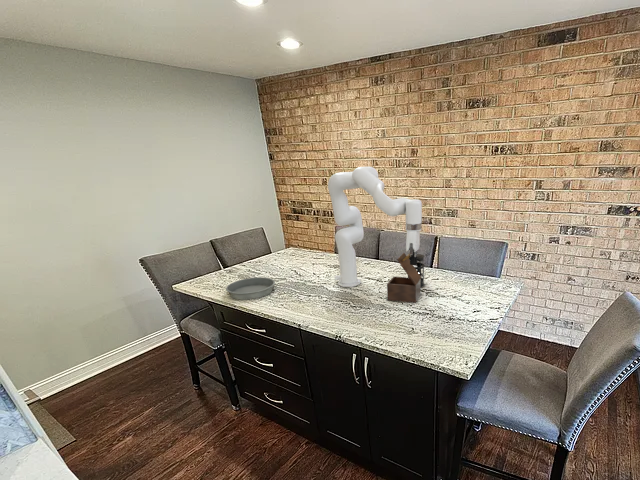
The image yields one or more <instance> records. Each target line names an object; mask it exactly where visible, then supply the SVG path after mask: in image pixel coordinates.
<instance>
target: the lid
mask: <svg viewBox="0 0 640 480" xmlns="http://www.w3.org/2000/svg"><path fill="white" fill-rule="evenodd" d="M409 258H410V252H409V253H408V254H406V253H405V252H403V253H402V254H400V255H399V256H398V258H397V259H396V260H397V262H398V263H399V265H400V266H401V267H402V269H403V271H404V272H405V274H406V275H407V277H408V276H409V278H410V279H411V280H412V282H413V283H414V285H417V283H418V282H419V280H420V278H422V277H421V276H420V275H419V273H418V272H417V270H416V269H415V268H414V267H415V265H410V260H409Z"/></svg>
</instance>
